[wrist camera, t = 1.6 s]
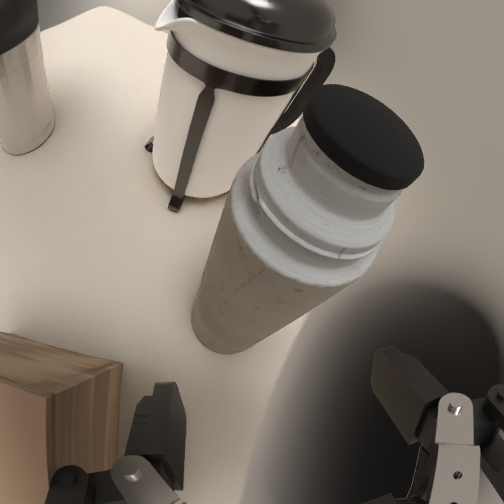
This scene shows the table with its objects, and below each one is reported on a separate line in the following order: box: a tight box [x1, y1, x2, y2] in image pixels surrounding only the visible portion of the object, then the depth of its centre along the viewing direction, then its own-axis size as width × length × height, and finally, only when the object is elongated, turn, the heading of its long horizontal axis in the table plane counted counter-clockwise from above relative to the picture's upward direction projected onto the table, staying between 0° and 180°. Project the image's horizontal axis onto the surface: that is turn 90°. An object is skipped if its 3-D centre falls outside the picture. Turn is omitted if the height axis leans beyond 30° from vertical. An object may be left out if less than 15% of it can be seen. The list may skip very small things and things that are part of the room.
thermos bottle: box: [192, 84, 424, 354], centre depth 22 cm, size 8×8×28 cm
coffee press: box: [145, 0, 336, 212], centre depth 26 cm, size 17×16×30 cm
